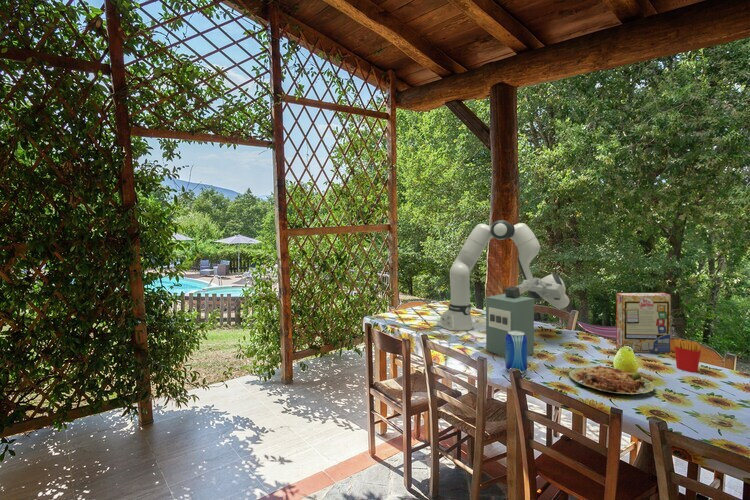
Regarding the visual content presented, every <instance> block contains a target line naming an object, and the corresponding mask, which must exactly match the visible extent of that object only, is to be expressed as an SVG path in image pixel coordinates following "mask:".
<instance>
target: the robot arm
mask: <svg viewBox="0 0 750 500" xmlns="http://www.w3.org/2000/svg"><path fill="white" fill-rule="evenodd" d="M492 239H496V240H499V241H501V240H502V241H503V240H506V239H511V240H512V242H513V243H514V244H515V246H516V248H517V249H518V257H517V263H518V266H519V268H520V271H521V275H522V277H523V280H522V283H524V282H526V281H528V280H530V279H532V278H534V276H533V275H532V271H531V269H530V264H531V262H532V261H533V260H534V259H535V257H536V256H537V255H538V254H539V252H540V249H541V246H540V245H541V244H540V242H539V239H537V236H536V235H535V234H534V232H533V231H532V230H531V228H530V227H529V226H528V225H527V224H526V223H523V222H518V223H516V224H512V223H510V222H508V221H507V220H504V219H498V220H495V221H494V222H493V223H492V224H491V225H488V224H485V223H478V224H477V225H475V226H474V228H473V229H472V231H471V232H470V233H469V234H468V237H467V238H466V240H465V241H464V244H463V246H462V247H461V249H460V251H459V253H458V254H457V256H456V258H455V260H454V261H453V264H452V265H451V267H450V269H449V286H450V287H449V289H450V303H447V307H448V309H447V310H445V311H444V312H443V313H442V314H441V315H440V320H439V321H437V322H436V324H437V325H436V326H438V325H439V326H438V327H440V328H443V329H445V330H448V331H463V332H464V331H470V330H473V329H474V327H473V322H472V315H471V310H472V309H471V308H472V305H471V289H470V288H471V286H470V284H471V282H470V281H471V280H470V275H471V274H470V273H471V271H472V270H473V268H474V266H475V265H476V264H477V262H478V260H479V258H480V257H481V255H482V254H483V251H484V250H485V248H486V246H487V244H488V243H489V241H490V240H492ZM537 283H538V284H539V285H537V286H535V287H534V288H532V289H530V290H528V291H527V292H528V294H529V296H530V298H534V300H536V301H541V300H544V301H546V302H548V304H550V305H551V306H553V307H554V308H556V309H558V310H559V309H560V310H561V309H565V308H567V307H568V306H569V304H570V298H569V297H568V295H567V294H566V290H567V287H566V284H565V281H564V279H563V278H562V277H561V276H560V275H559V274H556V273H551V274H548V275H546V276H544V277H542V278H540V280H537Z"/></svg>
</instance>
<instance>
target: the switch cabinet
mask: <svg viewBox="0 0 750 500" xmlns="http://www.w3.org/2000/svg"><path fill="white" fill-rule="evenodd" d="M485 310H486V311H485V326H486V327H485V328H486V329H485V330H486V331H485V332H486V333H485V339H486V340H485V341H486V342H485V343H486V344H485V346H486V348H485V349H486V350H485V351H487V352H489V353H492V354H495V355H498V356H501V357H504V358H505V337H506V336H507V334H508V332H509V331H521V332H524V333H525V336H526V338H527V357H528V356H530V355H533V354H534V353H535V345H534V344H535V343H534V342H535V299H534V298H532V297H528V296H521V295H520V296H519V297H517V298H509V297H506V295H505V293H502V294H495V295H491V296H490V295H489V296H485Z"/></svg>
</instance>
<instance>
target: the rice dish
mask: <svg viewBox="0 0 750 500" xmlns="http://www.w3.org/2000/svg"><path fill="white" fill-rule="evenodd" d="M568 377H569V378H571V379H572V380H573V381H575V382H577V383H578V384H580V385H583V386H586V387H589V388H592V389H595V390H597V391H601V392H606V393H614V394H622V395H623V394H626V395H639V394H646V393H647V394H648V393H650V392H653V391H654V390H655V389H656V388H655V384H654V383H653V382H652V381H650V379H647V378H646V377H643V376H641V374H640V373H637V372H629V371H625V370H622V369H621V368H614V367H610V366H602V365H596V366H586V367H578V368H577V367H575V368H574V369H570V370H568ZM579 381H580V382H581V381H582V382H581V383H580V382H579Z"/></svg>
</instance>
